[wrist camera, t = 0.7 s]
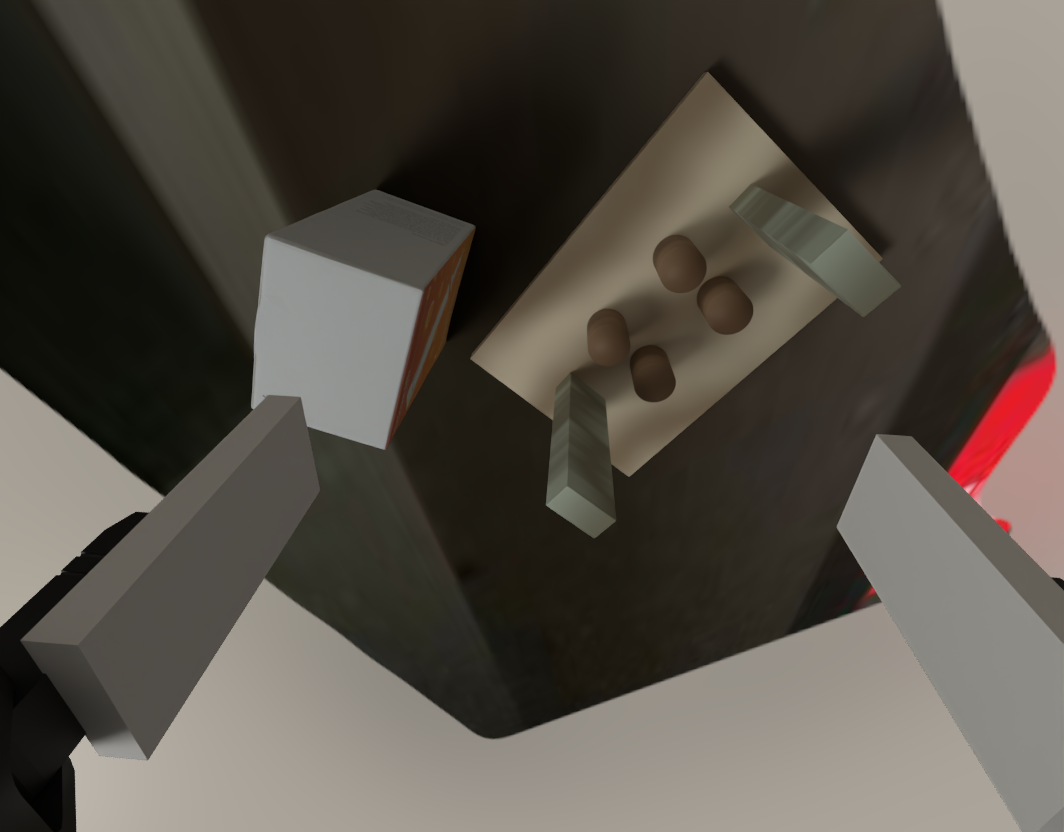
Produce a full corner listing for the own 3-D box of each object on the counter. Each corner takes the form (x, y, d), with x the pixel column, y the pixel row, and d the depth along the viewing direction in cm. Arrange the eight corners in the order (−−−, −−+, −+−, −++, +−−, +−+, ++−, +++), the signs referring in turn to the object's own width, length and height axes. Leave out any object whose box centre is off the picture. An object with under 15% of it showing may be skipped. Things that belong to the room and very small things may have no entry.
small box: (446, 344, 36) (385, 455, 24) (352, 312, 35) (245, 411, 24) (480, 223, 32) (425, 289, 20) (374, 184, 31) (258, 231, 20)
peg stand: (472, 352, 36) (424, 466, 25) (703, 72, 27) (791, 52, 16) (628, 468, 40) (647, 614, 28) (874, 254, 31) (1042, 340, 20)
